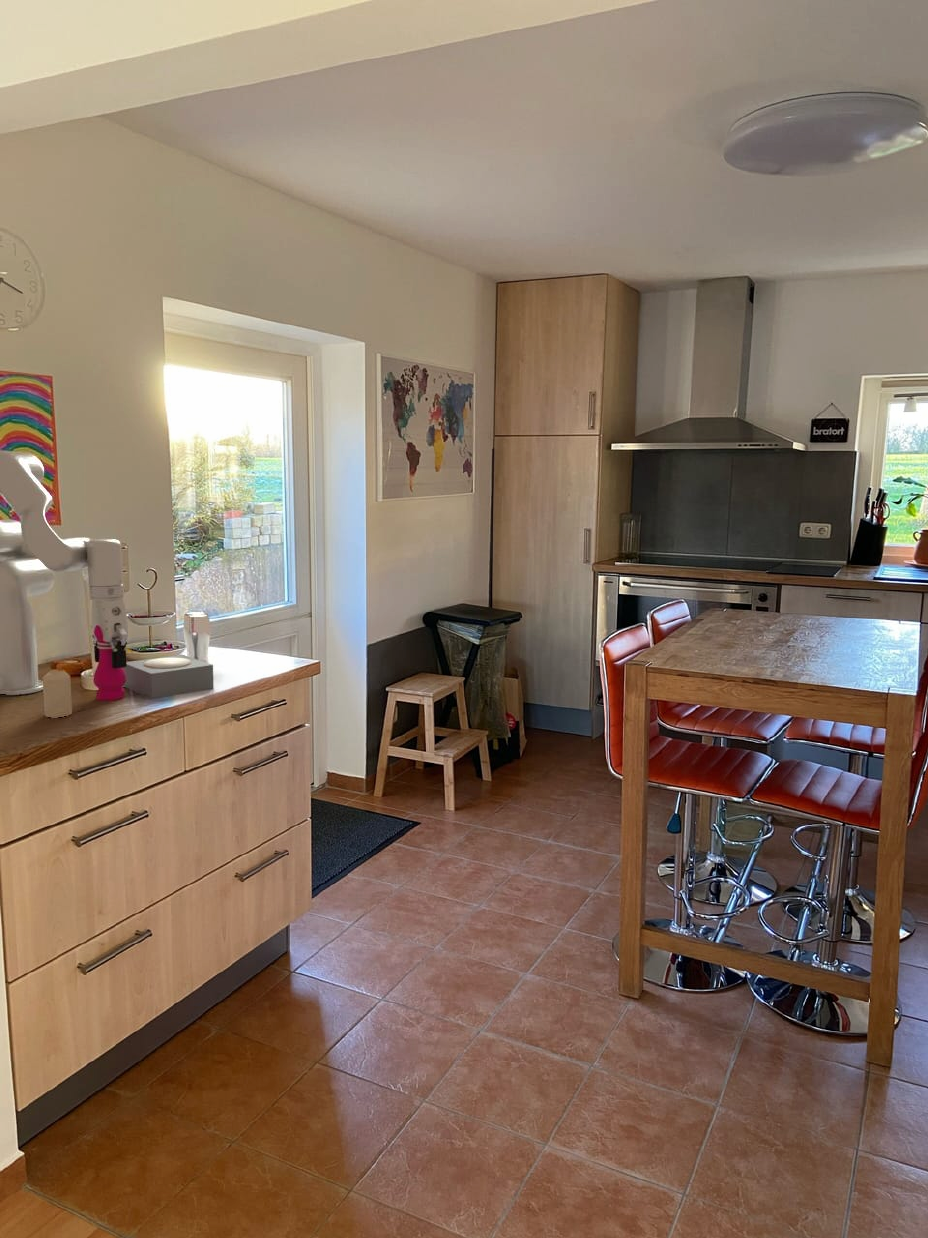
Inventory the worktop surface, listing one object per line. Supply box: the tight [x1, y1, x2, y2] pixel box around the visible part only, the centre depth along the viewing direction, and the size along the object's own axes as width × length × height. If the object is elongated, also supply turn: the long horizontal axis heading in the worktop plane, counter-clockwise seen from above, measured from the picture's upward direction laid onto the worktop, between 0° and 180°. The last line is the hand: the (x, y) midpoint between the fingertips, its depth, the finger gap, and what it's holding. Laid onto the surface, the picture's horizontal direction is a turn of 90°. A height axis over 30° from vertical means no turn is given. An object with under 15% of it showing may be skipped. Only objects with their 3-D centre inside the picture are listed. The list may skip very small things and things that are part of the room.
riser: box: [122, 654, 215, 699], centre depth 224 cm, size 16×16×6 cm
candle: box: [42, 668, 73, 719], centre depth 196 cm, size 6×6×10 cm
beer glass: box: [183, 612, 211, 663], centre depth 245 cm, size 7×7×15 cm
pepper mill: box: [93, 625, 126, 702], centre depth 212 cm, size 7×7×20 cm
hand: (110, 664), depth 212 cm, fingers open, 9 cm apart
